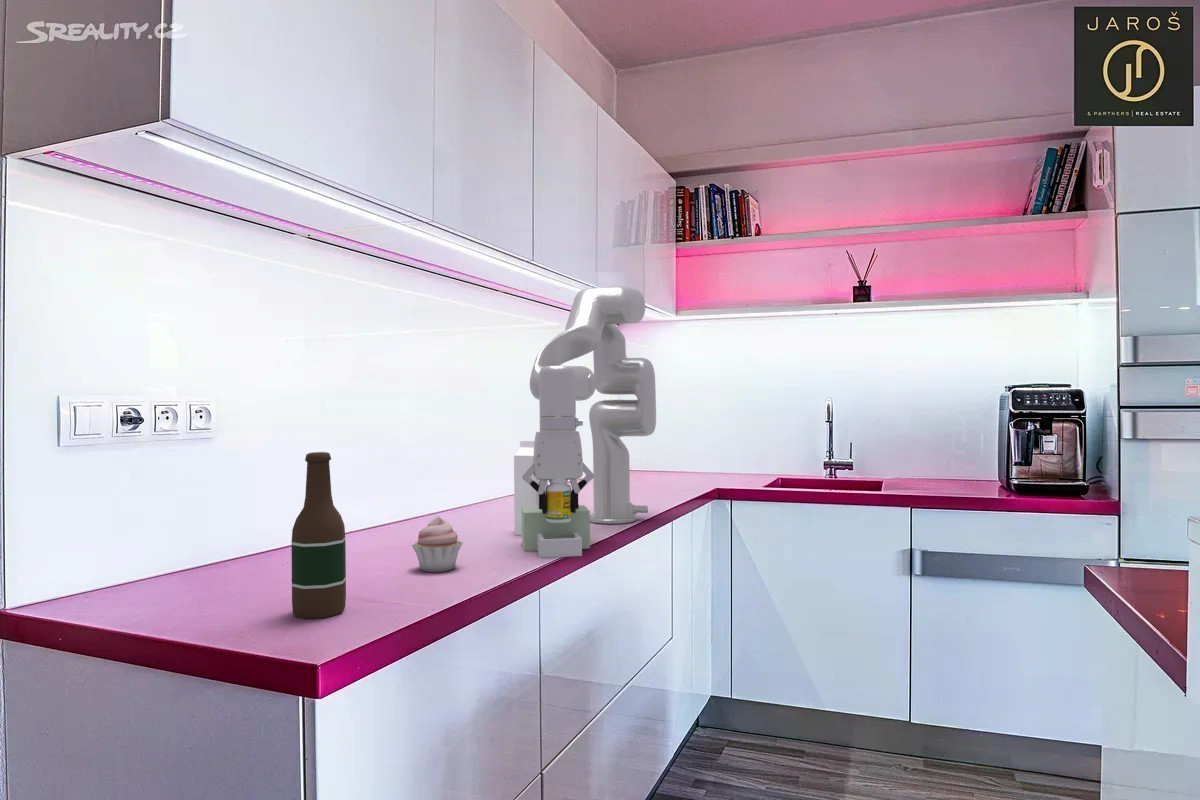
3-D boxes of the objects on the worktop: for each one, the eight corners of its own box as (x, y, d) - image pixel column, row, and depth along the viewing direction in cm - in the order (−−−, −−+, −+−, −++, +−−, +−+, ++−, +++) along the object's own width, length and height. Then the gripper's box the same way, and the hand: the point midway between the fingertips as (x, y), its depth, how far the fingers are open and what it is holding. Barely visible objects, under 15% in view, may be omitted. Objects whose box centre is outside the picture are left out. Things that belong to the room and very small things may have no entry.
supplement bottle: (551, 518, 161) (551, 473, 161) (575, 520, 159) (575, 474, 159) (541, 522, 156) (541, 475, 156) (565, 523, 154) (565, 476, 154)
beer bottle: (339, 603, 119) (338, 450, 120) (352, 614, 113) (351, 452, 113) (287, 610, 115) (285, 452, 115) (297, 622, 109) (295, 455, 109)
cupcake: (429, 577, 137) (428, 521, 137) (403, 569, 143) (402, 516, 143) (472, 569, 143) (472, 515, 143) (445, 561, 150) (445, 511, 150)
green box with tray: (584, 540, 171) (583, 500, 171) (595, 555, 155) (595, 511, 155) (521, 543, 169) (521, 502, 169) (526, 558, 152) (525, 513, 152)
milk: (527, 531, 185) (526, 440, 185) (549, 532, 182) (548, 440, 183) (514, 535, 179) (513, 441, 180) (536, 536, 177) (535, 441, 177)
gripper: (595, 424, 163) (596, 508, 163) (515, 425, 160) (516, 511, 160) (601, 425, 155) (602, 513, 155) (517, 426, 153) (518, 516, 153)
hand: (558, 511), depth 158 cm, fingers closed on supplement bottle, 5 cm apart
